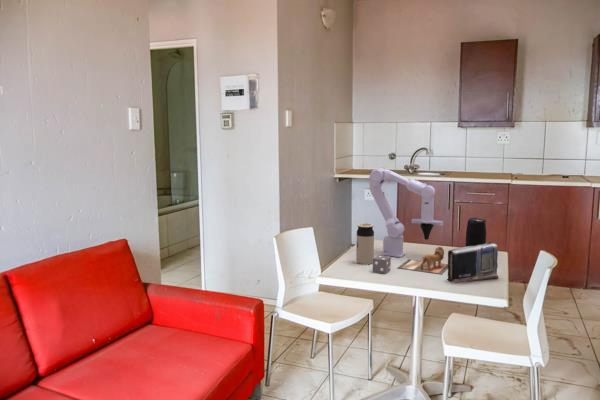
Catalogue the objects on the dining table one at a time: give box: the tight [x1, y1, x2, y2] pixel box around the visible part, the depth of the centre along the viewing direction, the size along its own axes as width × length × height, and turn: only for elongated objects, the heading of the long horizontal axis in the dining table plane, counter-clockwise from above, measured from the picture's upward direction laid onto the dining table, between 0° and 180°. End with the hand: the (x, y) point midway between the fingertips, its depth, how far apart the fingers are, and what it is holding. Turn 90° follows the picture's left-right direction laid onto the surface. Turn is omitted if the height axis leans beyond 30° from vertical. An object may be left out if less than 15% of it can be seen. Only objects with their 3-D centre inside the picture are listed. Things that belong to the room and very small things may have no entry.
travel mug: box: [356, 222, 375, 265], centre depth 234 cm, size 8×8×18 cm
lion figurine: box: [420, 246, 445, 270], centre depth 224 cm, size 15×5×9 cm, turn 130°
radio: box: [446, 241, 499, 284], centre depth 208 cm, size 23×9×15 cm, turn 99°
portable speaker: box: [465, 217, 487, 247], centre depth 238 cm, size 9×9×20 cm
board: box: [397, 258, 448, 275], centre depth 227 cm, size 20×17×1 cm
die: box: [372, 255, 392, 275], centre depth 220 cm, size 6×6×6 cm
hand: (426, 239), depth 241 cm, fingers closed
